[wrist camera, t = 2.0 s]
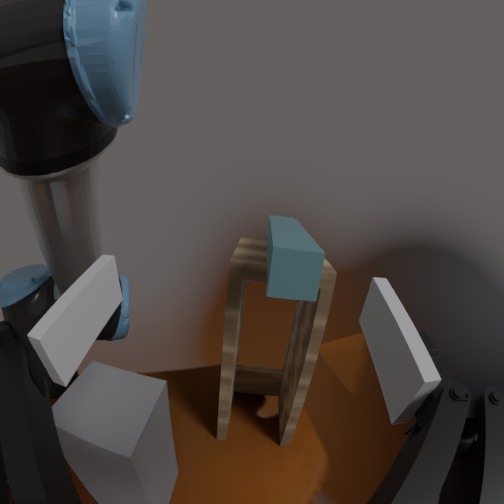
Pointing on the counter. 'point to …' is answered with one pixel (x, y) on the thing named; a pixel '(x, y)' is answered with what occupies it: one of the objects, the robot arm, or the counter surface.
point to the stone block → (118, 435)
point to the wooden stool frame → (299, 348)
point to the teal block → (292, 261)
